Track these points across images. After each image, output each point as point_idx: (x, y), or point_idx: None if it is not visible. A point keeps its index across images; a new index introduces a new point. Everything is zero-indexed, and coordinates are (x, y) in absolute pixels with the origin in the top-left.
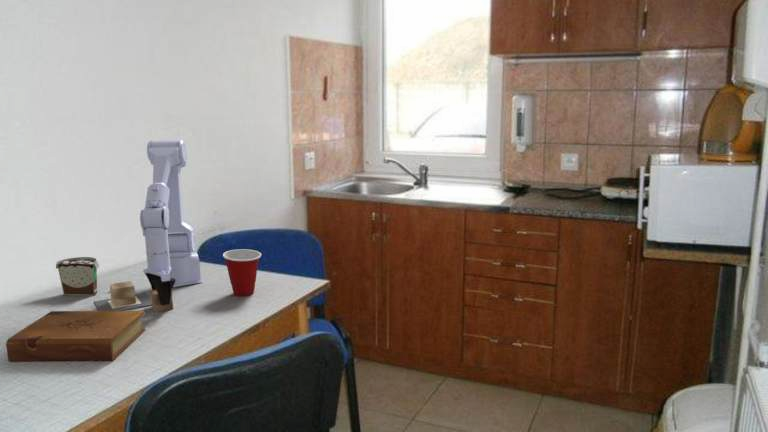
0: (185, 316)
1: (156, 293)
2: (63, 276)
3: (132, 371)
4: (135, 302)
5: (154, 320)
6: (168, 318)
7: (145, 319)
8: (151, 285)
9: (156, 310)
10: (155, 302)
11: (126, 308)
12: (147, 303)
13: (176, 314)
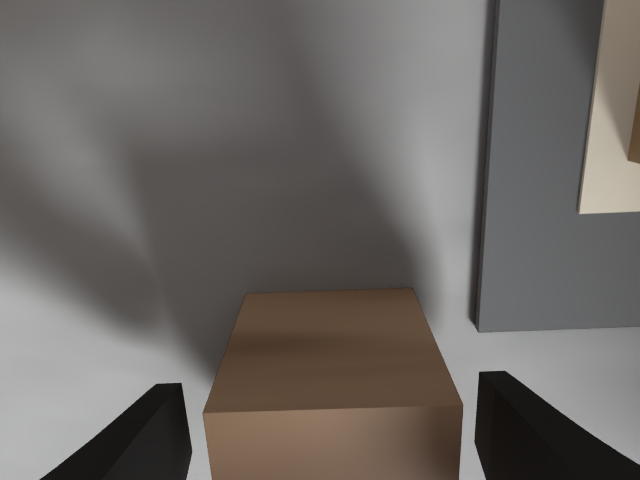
0: (18, 472)
1: (242, 443)
2: None
3: None
4: (634, 157)
5: (5, 244)
6: (17, 356)
7: (69, 172)
8: (566, 466)
9: (244, 307)
10: (226, 350)
11: (514, 31)
12: (539, 267)
13: (99, 427)
